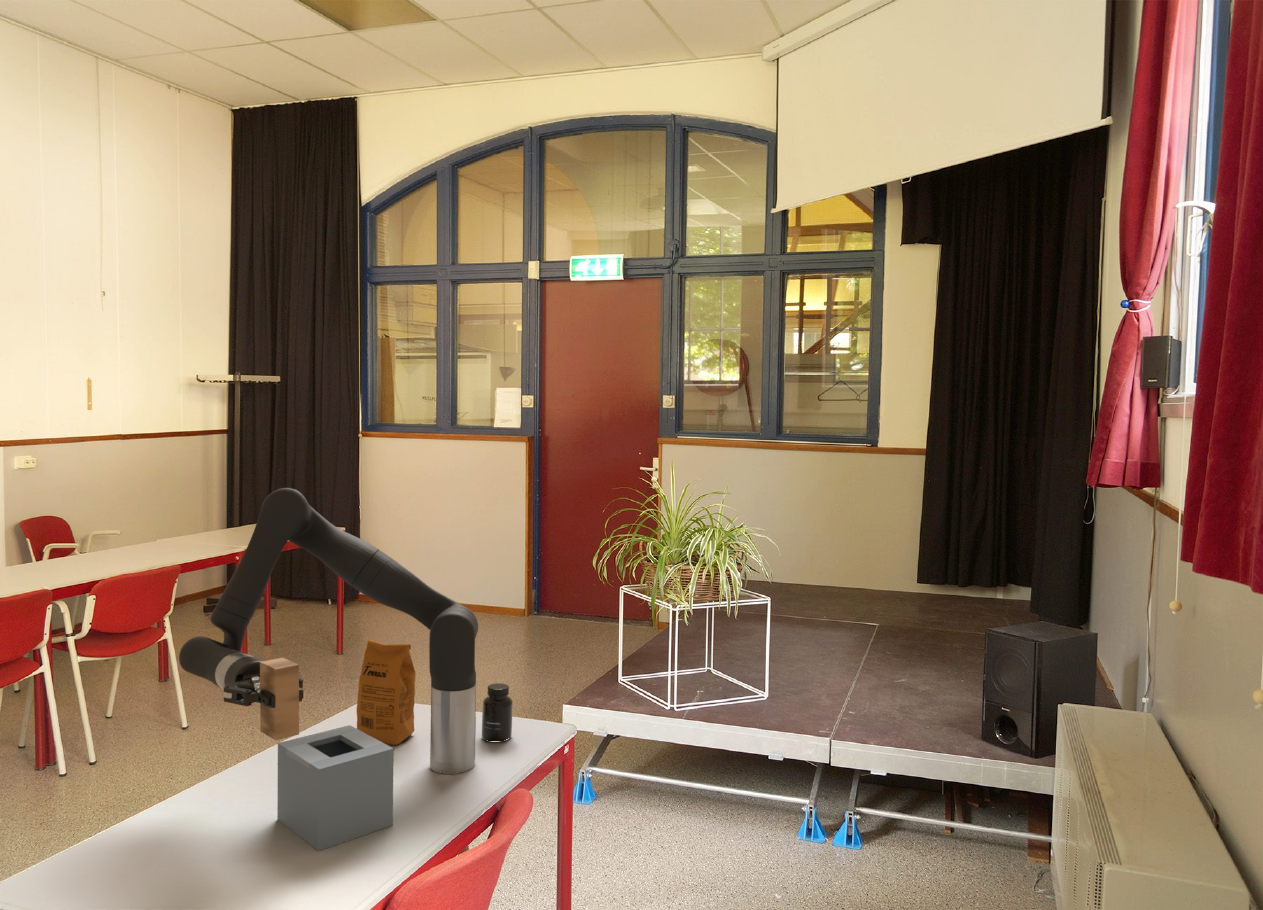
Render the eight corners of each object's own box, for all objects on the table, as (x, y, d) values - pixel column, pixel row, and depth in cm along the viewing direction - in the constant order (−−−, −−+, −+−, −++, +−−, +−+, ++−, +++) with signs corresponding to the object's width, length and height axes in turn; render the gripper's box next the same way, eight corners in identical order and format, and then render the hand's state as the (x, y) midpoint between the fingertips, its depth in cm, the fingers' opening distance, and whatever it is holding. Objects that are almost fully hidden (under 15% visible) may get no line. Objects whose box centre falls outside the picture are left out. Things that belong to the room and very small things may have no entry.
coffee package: (375, 726, 210) (376, 633, 209) (420, 733, 206) (422, 639, 205) (348, 740, 200) (349, 643, 200) (395, 748, 196) (396, 649, 195)
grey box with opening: (277, 819, 161) (277, 743, 161) (349, 796, 171) (349, 725, 171) (318, 850, 150) (319, 769, 150) (392, 825, 160) (393, 748, 160)
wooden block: (260, 731, 153) (259, 661, 152) (283, 725, 155) (282, 657, 155) (275, 740, 148) (275, 669, 148) (299, 734, 151) (298, 664, 151)
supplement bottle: (487, 745, 200) (488, 692, 199) (477, 735, 206) (478, 683, 205) (516, 740, 203) (517, 688, 202) (506, 730, 209) (507, 680, 208)
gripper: (203, 664, 156) (244, 685, 144) (282, 649, 167) (327, 668, 155) (204, 706, 157) (244, 731, 145) (283, 688, 167) (327, 711, 155)
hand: (287, 698), depth 150 cm, fingers closed on wooden block, 4 cm apart
